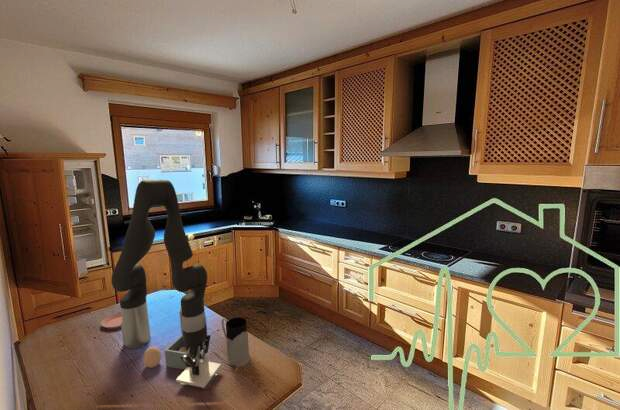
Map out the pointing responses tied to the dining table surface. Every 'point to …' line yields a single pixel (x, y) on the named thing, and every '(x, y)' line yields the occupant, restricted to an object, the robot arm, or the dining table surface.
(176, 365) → the tin box
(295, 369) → the dining table surface
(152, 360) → the egg
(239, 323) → the glass holder
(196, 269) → the robot arm
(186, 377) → the lid
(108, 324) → the plate
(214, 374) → the slate trivet
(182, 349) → the walnut block
